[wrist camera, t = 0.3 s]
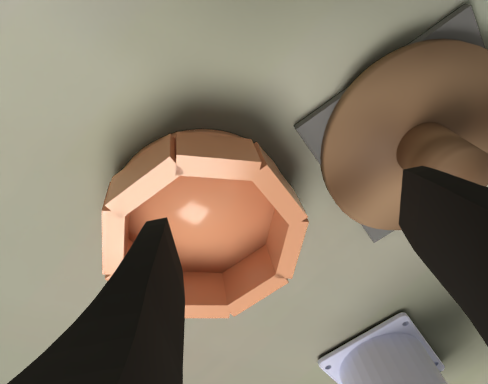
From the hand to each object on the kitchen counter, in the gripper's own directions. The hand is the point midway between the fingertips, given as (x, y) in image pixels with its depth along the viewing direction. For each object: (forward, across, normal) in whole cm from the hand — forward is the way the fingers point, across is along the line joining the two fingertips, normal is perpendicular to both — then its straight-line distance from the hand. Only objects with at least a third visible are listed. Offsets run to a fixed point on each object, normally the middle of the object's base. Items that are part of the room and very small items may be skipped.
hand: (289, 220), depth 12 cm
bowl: (+10, +3, +5) cm, 11 cm away
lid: (+9, -9, +3) cm, 14 cm away
